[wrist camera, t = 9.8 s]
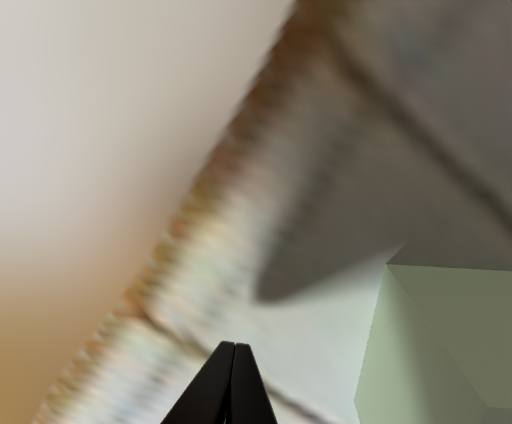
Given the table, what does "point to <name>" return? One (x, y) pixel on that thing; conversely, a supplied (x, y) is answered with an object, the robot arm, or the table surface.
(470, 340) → the sage green block
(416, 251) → the table surface
